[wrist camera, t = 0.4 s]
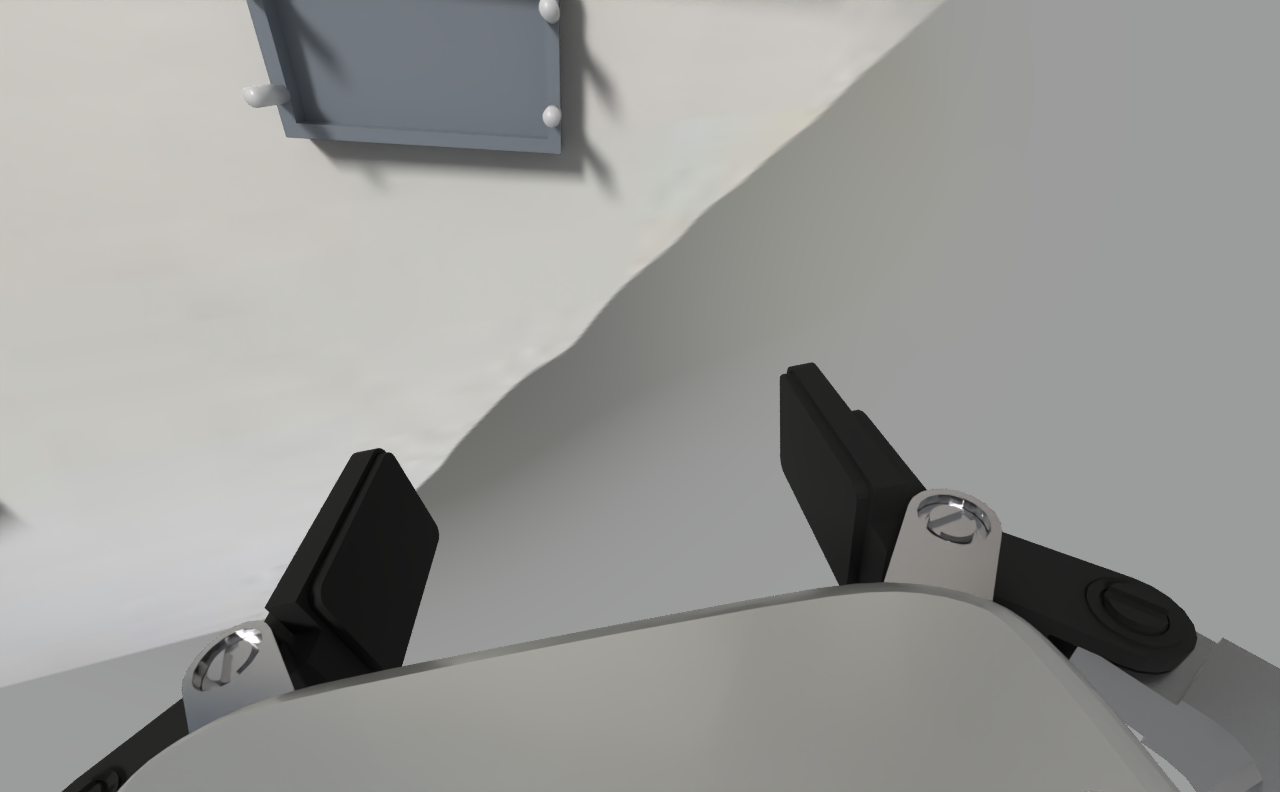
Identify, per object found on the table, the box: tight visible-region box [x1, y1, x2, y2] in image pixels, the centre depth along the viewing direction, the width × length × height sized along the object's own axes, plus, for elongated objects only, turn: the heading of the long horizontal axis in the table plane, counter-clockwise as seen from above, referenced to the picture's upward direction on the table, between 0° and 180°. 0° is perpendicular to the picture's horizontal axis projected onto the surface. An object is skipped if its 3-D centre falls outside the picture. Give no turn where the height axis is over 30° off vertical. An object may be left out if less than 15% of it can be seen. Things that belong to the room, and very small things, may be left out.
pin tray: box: [243, 0, 562, 154], centre depth 28 cm, size 10×17×5 cm, turn 86°
